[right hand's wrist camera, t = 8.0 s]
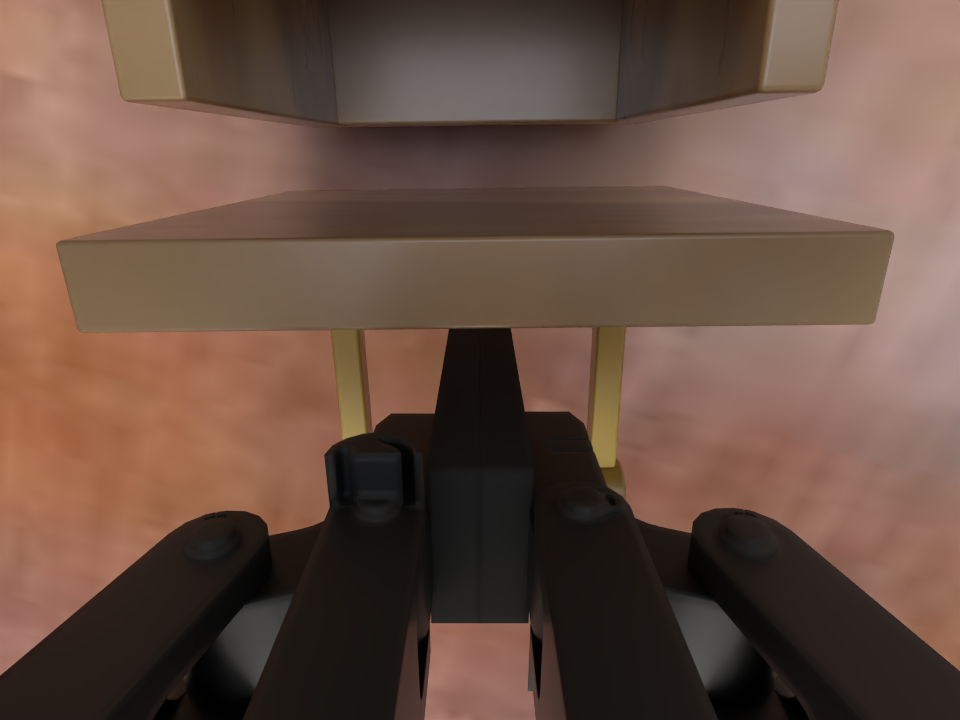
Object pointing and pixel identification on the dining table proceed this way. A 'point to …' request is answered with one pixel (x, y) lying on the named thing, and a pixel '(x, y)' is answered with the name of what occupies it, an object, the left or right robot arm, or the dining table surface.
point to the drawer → (473, 212)
